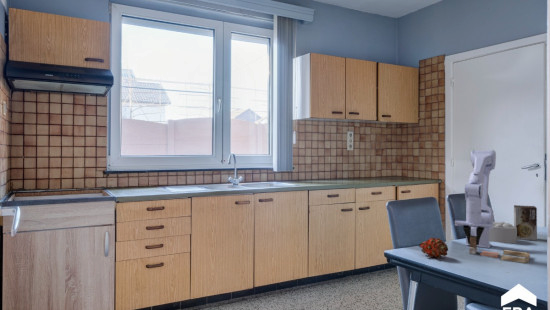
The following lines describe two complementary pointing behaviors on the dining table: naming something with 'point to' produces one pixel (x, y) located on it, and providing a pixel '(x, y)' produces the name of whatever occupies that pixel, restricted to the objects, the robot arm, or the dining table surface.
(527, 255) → the tile holder
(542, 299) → the dining table surface
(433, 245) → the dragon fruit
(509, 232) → the lumpy-topped squat cylinder
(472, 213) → the robot arm
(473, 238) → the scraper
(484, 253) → the tile
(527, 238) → the coffee box
